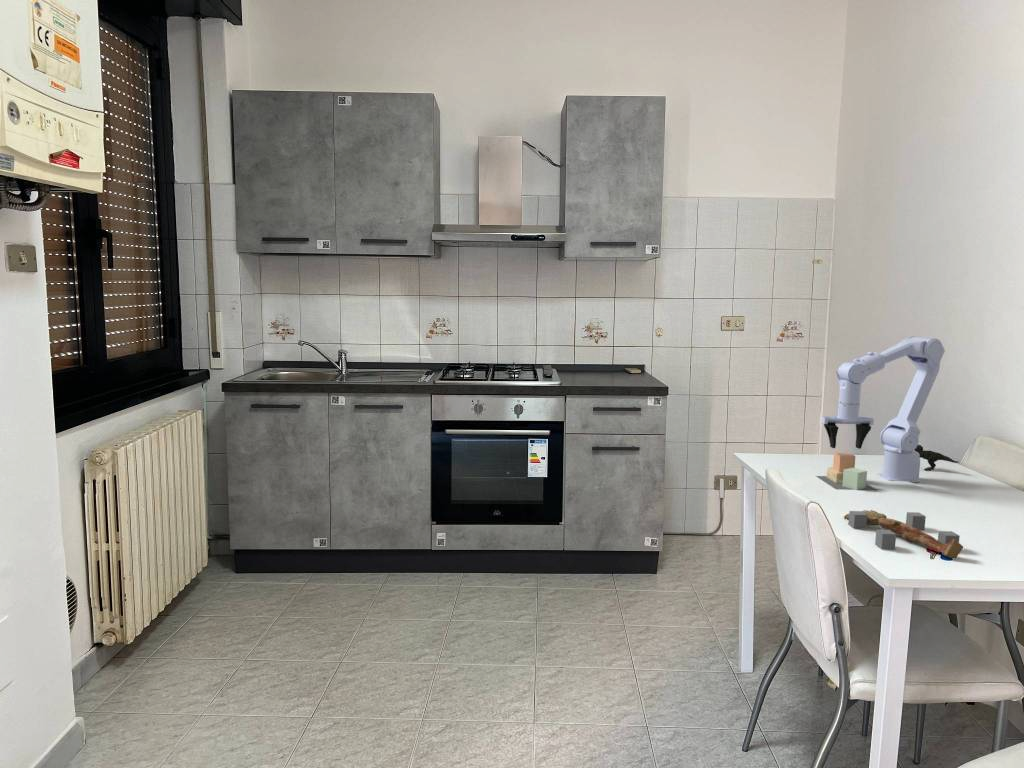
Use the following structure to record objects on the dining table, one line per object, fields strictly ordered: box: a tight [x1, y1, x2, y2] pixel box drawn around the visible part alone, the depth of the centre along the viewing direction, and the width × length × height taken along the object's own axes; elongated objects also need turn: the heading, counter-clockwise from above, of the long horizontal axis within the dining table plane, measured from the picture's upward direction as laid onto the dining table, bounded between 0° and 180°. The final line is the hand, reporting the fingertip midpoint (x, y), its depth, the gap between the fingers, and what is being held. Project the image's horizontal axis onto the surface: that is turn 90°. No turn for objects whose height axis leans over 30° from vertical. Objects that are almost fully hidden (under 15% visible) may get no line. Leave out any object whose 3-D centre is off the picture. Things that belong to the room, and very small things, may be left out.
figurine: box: [843, 509, 964, 559], centre depth 173 cm, size 8×6×30 cm
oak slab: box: [826, 467, 843, 483], centre depth 223 cm, size 7×7×3 cm
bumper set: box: [847, 510, 960, 550], centre depth 173 cm, size 17×17×4 cm
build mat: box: [815, 475, 878, 491], centre depth 220 cm, size 12×15×1 cm
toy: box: [913, 444, 960, 472], centre depth 238 cm, size 5×15×8 cm, turn 39°
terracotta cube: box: [832, 452, 857, 472], centre depth 222 cm, size 4×4×5 cm
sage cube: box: [842, 467, 868, 491], centre depth 215 cm, size 4×4×5 cm
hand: (845, 447), depth 221 cm, fingers open, 7 cm apart
